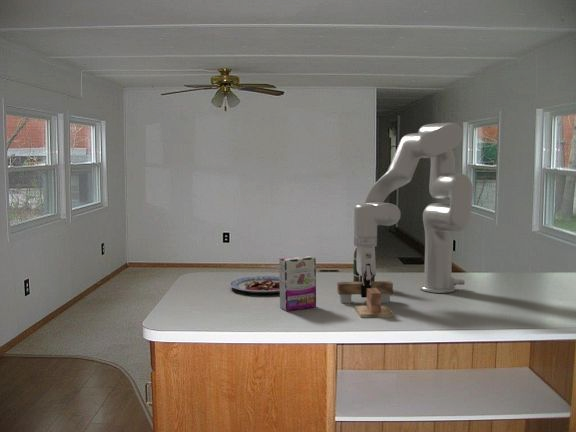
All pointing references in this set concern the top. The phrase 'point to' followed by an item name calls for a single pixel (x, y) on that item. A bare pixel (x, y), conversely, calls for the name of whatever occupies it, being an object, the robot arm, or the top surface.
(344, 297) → the grey cubes
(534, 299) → the top surface
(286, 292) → the candy bar box
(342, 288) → the walnut bar
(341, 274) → the top surface
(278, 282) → the ceramic plate
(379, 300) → the fulcrum
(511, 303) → the top surface
